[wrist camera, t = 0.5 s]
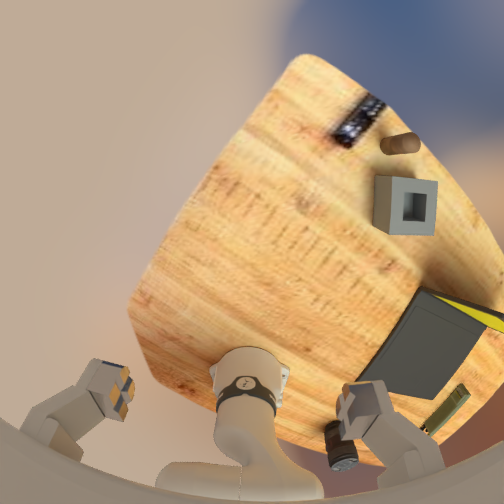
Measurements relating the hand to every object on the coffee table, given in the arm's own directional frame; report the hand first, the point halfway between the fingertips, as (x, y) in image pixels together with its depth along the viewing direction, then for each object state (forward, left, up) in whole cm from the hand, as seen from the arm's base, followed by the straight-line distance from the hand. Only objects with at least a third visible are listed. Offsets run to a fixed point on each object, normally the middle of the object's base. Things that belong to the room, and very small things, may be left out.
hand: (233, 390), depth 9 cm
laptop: (-33, -47, -45) cm, 73 cm away
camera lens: (-61, -23, -44) cm, 79 cm away
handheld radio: (-64, -61, -45) cm, 99 cm away
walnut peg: (+14, -26, -44) cm, 53 cm away
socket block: (+3, -28, -44) cm, 52 cm away
